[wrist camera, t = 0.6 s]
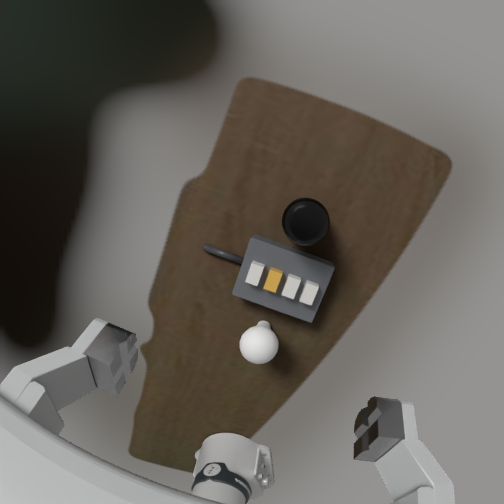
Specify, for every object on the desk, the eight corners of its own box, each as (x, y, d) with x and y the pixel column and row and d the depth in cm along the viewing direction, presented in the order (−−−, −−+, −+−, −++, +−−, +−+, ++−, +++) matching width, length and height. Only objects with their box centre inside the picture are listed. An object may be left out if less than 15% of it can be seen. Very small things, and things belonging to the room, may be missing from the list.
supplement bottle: (333, 221, 52) (343, 230, 41) (301, 246, 54) (302, 262, 42) (307, 188, 52) (310, 187, 40) (275, 214, 53) (269, 220, 42)
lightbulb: (288, 327, 57) (285, 356, 46) (263, 346, 58) (255, 377, 48) (265, 302, 57) (257, 328, 46) (240, 323, 58) (228, 351, 47)
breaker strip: (332, 262, 54) (336, 270, 48) (310, 313, 56) (312, 327, 50) (212, 219, 55) (203, 222, 49) (196, 272, 57) (185, 280, 52)
